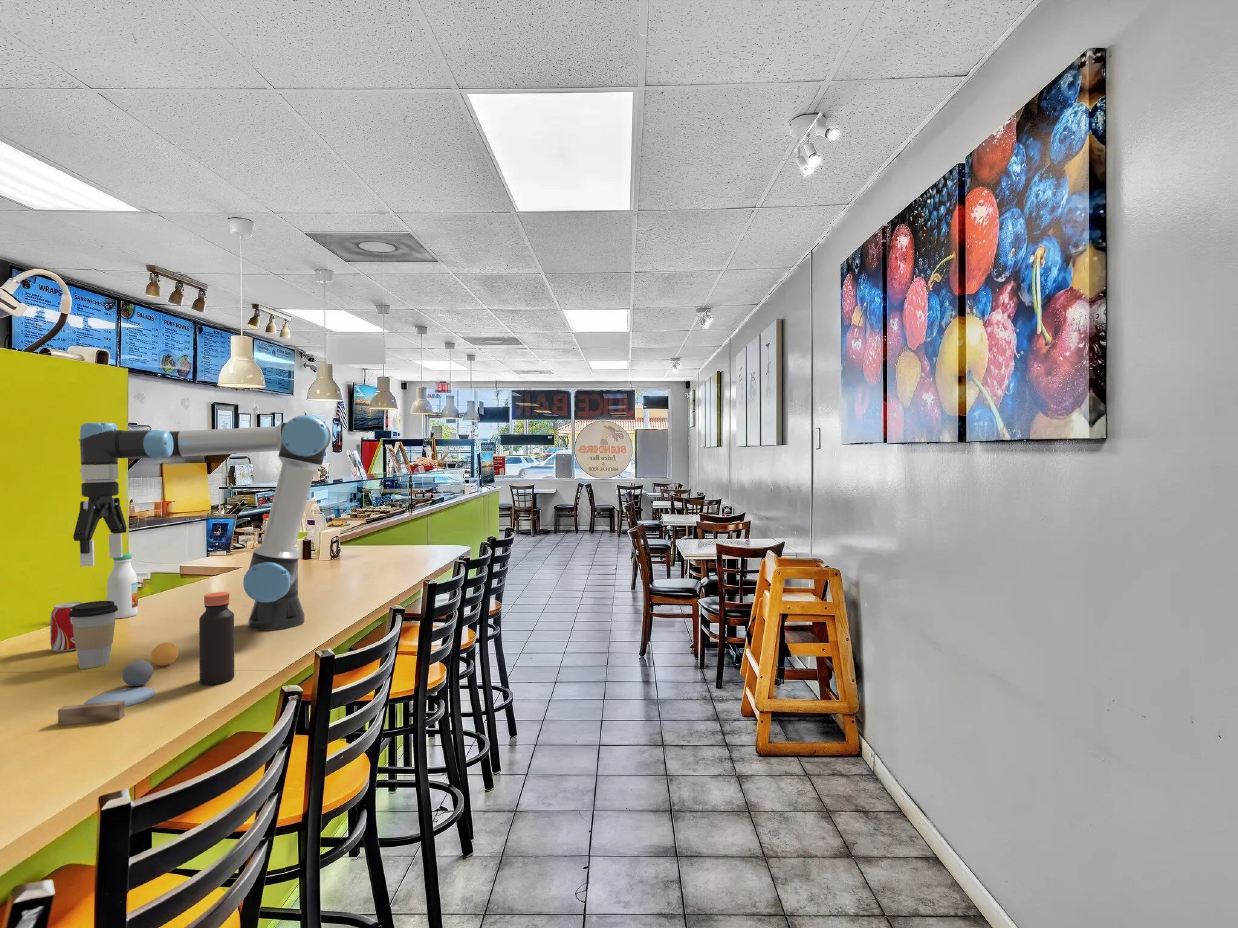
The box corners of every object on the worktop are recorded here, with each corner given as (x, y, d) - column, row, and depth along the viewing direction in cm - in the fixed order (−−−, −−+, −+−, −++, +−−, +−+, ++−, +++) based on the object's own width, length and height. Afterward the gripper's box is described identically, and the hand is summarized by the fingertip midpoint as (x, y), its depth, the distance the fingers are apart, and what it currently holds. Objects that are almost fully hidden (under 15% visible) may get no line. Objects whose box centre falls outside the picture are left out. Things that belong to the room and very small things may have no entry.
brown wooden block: (124, 715, 123) (124, 700, 123) (119, 719, 121) (119, 704, 121) (64, 720, 121) (64, 705, 120) (58, 725, 119) (57, 709, 119)
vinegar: (210, 675, 146) (210, 591, 146) (240, 674, 146) (240, 590, 146) (192, 685, 139) (192, 597, 139) (223, 685, 139) (223, 597, 139)
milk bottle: (124, 619, 194) (124, 556, 194) (100, 619, 195) (100, 555, 194) (143, 613, 202) (143, 552, 202) (120, 612, 202) (120, 552, 202)
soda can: (64, 654, 160) (64, 608, 160) (43, 652, 162) (42, 606, 162) (92, 646, 167) (92, 602, 167) (72, 644, 169) (71, 600, 169)
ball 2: (182, 660, 156) (182, 638, 156) (173, 667, 151) (173, 645, 151) (157, 662, 155) (156, 640, 154) (146, 669, 149) (146, 647, 149)
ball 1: (157, 679, 143) (157, 656, 143) (146, 688, 137) (146, 664, 137) (129, 682, 141) (129, 658, 141) (117, 691, 136) (117, 666, 136)
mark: (165, 685, 139) (165, 685, 139) (139, 706, 127) (139, 705, 127) (101, 691, 136) (101, 690, 136) (69, 713, 124) (69, 712, 124)
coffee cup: (127, 660, 156) (127, 601, 156) (84, 673, 147) (84, 610, 147) (102, 656, 159) (102, 598, 159) (59, 668, 150) (58, 607, 150)
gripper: (109, 479, 174) (111, 554, 174) (53, 483, 149) (55, 570, 150) (140, 479, 175) (142, 553, 176) (89, 483, 151) (92, 569, 152)
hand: (102, 561), depth 163 cm, fingers open, 13 cm apart
